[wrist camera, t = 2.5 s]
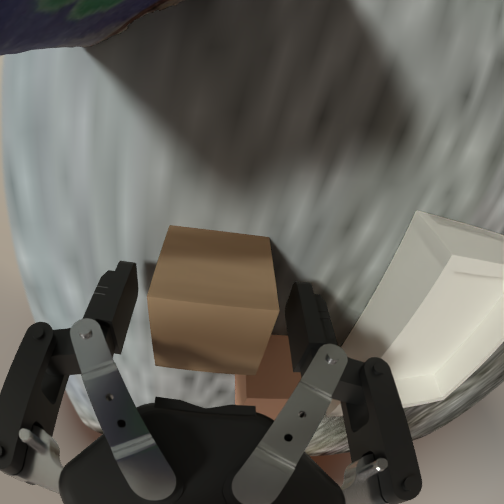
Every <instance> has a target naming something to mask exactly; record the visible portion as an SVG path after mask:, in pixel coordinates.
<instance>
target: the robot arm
mask: <svg viewBox="0 0 504 504" xmlns="http://www.w3.org/2000/svg"><path fill="white" fill-rule="evenodd" d="M137 297H138V279H137V268H136V263H133V262H126V261H120V262H119V263H118V265H117V268H116V270H115V271H110V270H108V271H107V272H106V273H105V274H104V275H103V276H102V277H101V278H100V281H99V283H98V285H97V287H96V289H95V292H94V294H93V296H92V298H91V301H90V303H89V305H88V307H87V310H86V312H85V315H84V317H83V319H81V320H78V321H77V322H75V323H74V324H73V326H72V327H71V328H68V329H58V330H52V327H51V326H50V325H49V324H47V323H45V322H37V323H35V324H33V325H31V326H30V327H29V328H28V330H27V331H26V334H25V336H24V338H23V340H22V342H21V344H20V346H19V349H18V351H17V353H16V355H15V358H14V360H13V362H12V365H11V367H10V370H9V372H8V375H7V377H6V380H5V382H4V385H3V388H2V390H1V393H0V470H1V471H2V472H4V473H5V474H7V475H9V476H11V477H13V478H15V479H18V480H20V481H24V482H26V483H28V484H32V485H36V484H37V485H39V486H41V487H44V488H46V489H49V490H51V491H54V492H56V493H59V494H60V496H61V498H62V501H63V503H64V504H398V503H402V502H405V501H408V500H411V499H413V498H415V497H416V496H417V495H418V494H419V492H420V490H421V488H422V479H421V474H420V470H419V466H418V462H417V457H416V453H415V449H414V446H413V442H412V438H411V434H410V431H409V427H408V424H407V420H406V417H405V413H404V410H403V406H402V403H401V400H400V397H399V393H398V390H397V387H396V384H395V381H394V378H393V375H392V372H391V369H390V366H389V365H388V364H387V362H385V361H384V360H383V359H381V358H378V357H371V358H369V359H368V360H366V362H362V361H358V360H355V359H352V358H349V357H347V355H346V353H345V351H344V350H343V349H342V348H340V347H339V346H338V345H337V342H336V338H335V334H334V331H333V327H332V323H331V320H330V316H329V313H328V309H327V305H326V302H325V301H324V300H323V298H322V297H321V296H320V295H318V294H314V293H313V289H312V285H311V283H305V282H294V284H293V287H292V289H291V292H290V295H289V298H288V300H287V303H286V308H285V318H286V325H287V332H288V339H289V346H290V353H291V360H292V367H293V372H301V379H300V381H299V383H298V384H297V386H296V388H295V389H294V391H293V392H292V394H291V396H290V397H289V399H288V400H287V402H286V403H285V405H284V406H283V408H282V409H281V411H280V412H279V414H278V415H277V417H276V418H275V420H273V419H271V418H270V417H268V416H266V415H263V414H261V413H258V412H256V406H248V405H226V406H220V407H214V408H202V407H199V406H196V405H193V404H190V403H187V402H184V401H181V400H176V399H168V398H161V397H156V398H155V403H149V404H144V405H141V406H139V407H137V408H136V406H135V404H134V402H133V400H132V398H131V396H130V394H129V392H128V390H127V388H126V386H125V384H124V381H123V379H122V377H121V375H120V373H119V370H118V368H117V366H116V364H115V363H114V360H113V355H114V353H116V354H121V352H122V348H123V345H124V341H125V337H126V334H127V330H128V327H129V324H130V320H131V317H132V314H133V310H134V307H135V304H136V301H137ZM74 374H81V376H82V380H83V383H84V385H85V388H86V391H87V394H88V396H89V399H90V401H91V404H92V406H93V409H94V411H95V414H96V416H97V419H98V421H99V423H100V426H101V428H102V430H103V432H104V434H103V435H101V436H100V437H99V438H98V439H97V440H95V441H94V442H93V443H92V444H91V445H89V446H88V447H87V448H86V449H84V450H83V451H82V452H81V453H80V454H78V455H77V456H76V457H75V458H73V459H72V460H71V461H70V462H68V463H67V464H66V465H65V467H64V468H63V466H62V464H61V462H60V458H59V456H60V455H59V454H60V450H59V446H58V444H57V442H56V441H55V440H54V439H53V438H52V435H53V431H54V427H55V423H56V419H57V415H58V412H59V408H60V405H61V401H62V397H63V394H64V391H65V388H66V384H67V381H68V378H69V375H74ZM332 399H335V400H338V401H340V403H341V408H342V413H343V418H344V423H345V428H346V433H347V438H348V444H349V449H350V454H351V460H352V463H351V464H350V465H349V466H348V467H347V468H346V470H345V473H344V483H343V485H342V487H341V488H340V487H339V486H338V484H337V483H335V481H334V480H333V479H332V478H330V477H329V476H328V475H327V474H326V473H325V472H324V471H323V470H322V469H321V468H320V467H319V466H318V465H317V464H316V463H315V462H314V461H313V460H312V459H311V458H310V457H309V456H308V455H307V453H306V452H305V449H306V447H307V446H308V444H309V442H310V440H311V439H312V437H313V435H314V433H315V431H316V430H317V428H318V426H319V424H320V422H321V420H322V418H323V417H324V415H325V413H326V411H327V409H328V407H329V405H330V403H331V400H332Z"/></svg>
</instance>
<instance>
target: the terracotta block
mask: <svg viewBox="0 0 504 504" xmlns="http://www.w3.org/2000/svg"><path fill="white" fill-rule="evenodd" d="M300 379H301V372H293V367H292V360H291V353H290V346H289V339H288V336H286V335H271V336H270V338H269V341H268V344H267V346H266V349H265V352H264V354H263V357H262V360H261V362H260V365H259V368H258V370H257V373H256V375H239V374H235V405H248V406H256V412H258V413H261V414H263V415H266V416H268V417H270V418H271V419H273V420H275V418H276V417H277V415H278V414H279V412H280V411H281V409H282V408H283V406H284V405H285V403H286V402H287V400H288V399H289V397H290V396H291V394H292V392H293V391H294V389H295V388H296V386H297V384H298V383H299V381H300Z"/></svg>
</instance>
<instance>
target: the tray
mask: <svg viewBox="0 0 504 504" xmlns="http://www.w3.org/2000/svg"><path fill="white" fill-rule="evenodd" d="M503 342H504V235H501V234H498V233H495V232H491V231H488V230H485V229H482V228H478V227H475V226H472V225H468V224H465V223H461V222H458V221H454V220H451V219H447V218H444V217H440V216H436V215H432V214H429V213H425V212H421V211H417V210H416V212H415V214H414V216H413V218H412V220H411V223H410V225H409V227H408V229H407V231H406V233H405V235H404V237H403V239H402V241H401V243H400V245H399V247H398V249H397V251H396V253H395V255H394V257H393V259H392V261H391V263H390V265H389V267H388V268H387V270H386V272H385V274H384V276H383V278H382V280H381V281H380V283H379V285H378V287H377V289H376V290H375V292H374V294H373V296H372V297H371V299H370V301H369V303H368V304H367V306H366V308H365V309H364V311H363V313H362V314H361V316H360V318H359V319H358V321H357V323H356V324H355V326H354V327H353V329H352V331H351V332H350V334H349V335H348V337H347V338H346V340H345V342H344V343H343V345H342V346H341V348H342V349H343V350H344V351H345V353H346V355H347V357H349V358H352V359H355V360H358V361H362V362H366V360H368V359H369V358H371V357H378V358H381V359H383V360H384V361H385V362H387V364H388V365H389V366H390V369H391V372H392V375H393V378H394V381H395V384H396V387H397V390H398V393H399V397H400V400H401V403H402V406H403V408H405V407H411V406H416V405H421V404H426V403H431V402H435V401H440V400H443V399H445V398H446V397H447V396H448V395H449V394H451V393H452V392H453V391H454V390H455V389H456V388H457V387H459V386H460V385H461V384H462V383H463V382H464V381H465V380H466V379H467V378H468V377H469V376H471V375H472V374H473V373H474V372H475V371H476V370H477V369H478V368H479V367H480V366H481V365H482V364H483V363H484V362H485V361H486V360H487V359H488V358H489V357H490V356H491V355H492V354H493V352H494V351H495V350H496V349H497V348H498V347H499V346H500V345H501V344H502V343H503ZM326 413H327V417H333V416H343V413H342V408H341V403H340V401H338V400H335V399H332V400H331V403H330V405H329V407H328V409H327V411H326Z"/></svg>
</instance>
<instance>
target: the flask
mask: <svg viewBox="0 0 504 504" xmlns="http://www.w3.org/2000/svg"><path fill="white" fill-rule="evenodd" d="M181 1H184V0H0V55H5V54H17V53H21V52H25V51H29V50H35V49H45V48H59V47H76V46H77V47H88V46H93V45H95V44H98V43H99V42H101V41H103V40H106V39H108V38H110V37H112V36H114V35H117V34H121V33H122V32H123V31H125V30H127V29H128V27H127V26H128V24H131V23H132V22H133V21H134V20H136V19H138V18H140V17H142V16H145V15H146V14H147V13H153V12H154V11H156V10H159V11H161V10H163V9H165V8H167V7H169V6H172V5H174V6H176V5H177V4H178V3H179V2H181Z"/></svg>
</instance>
